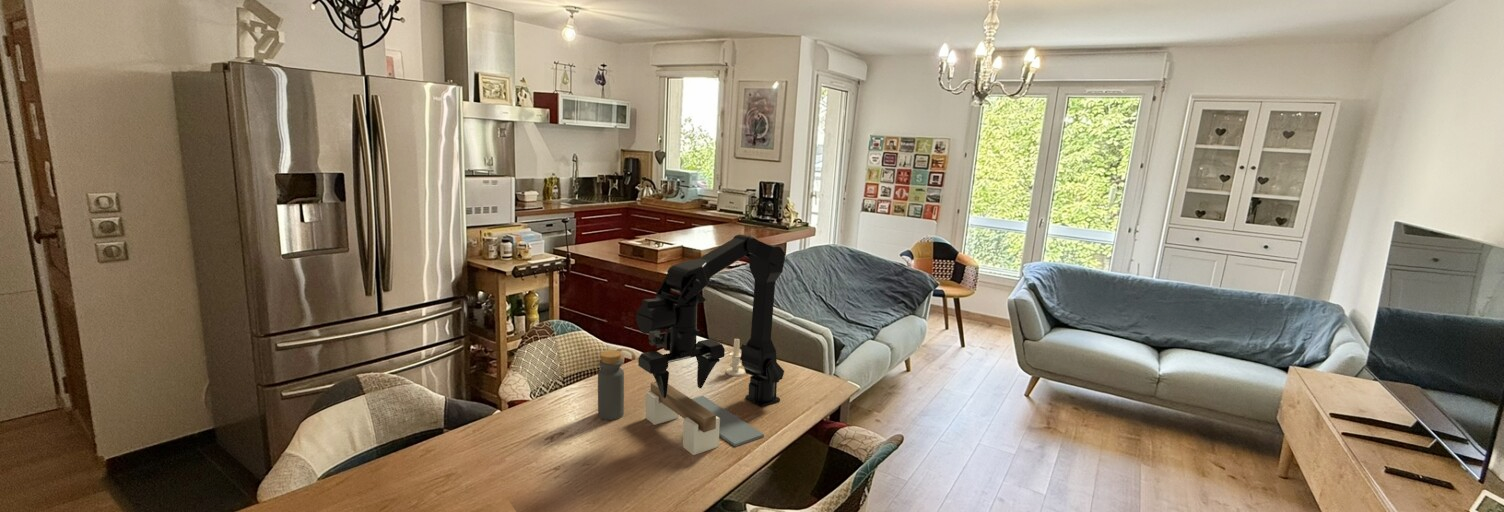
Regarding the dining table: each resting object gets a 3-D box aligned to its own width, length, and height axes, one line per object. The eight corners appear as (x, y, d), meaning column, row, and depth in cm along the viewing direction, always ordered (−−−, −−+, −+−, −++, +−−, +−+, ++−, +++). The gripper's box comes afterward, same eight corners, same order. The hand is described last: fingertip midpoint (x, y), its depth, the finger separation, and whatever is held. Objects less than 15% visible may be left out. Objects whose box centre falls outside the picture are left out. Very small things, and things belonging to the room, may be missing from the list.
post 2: (708, 438, 131) (708, 411, 130) (718, 446, 128) (719, 418, 127) (682, 447, 127) (683, 418, 126) (693, 455, 124) (694, 426, 123)
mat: (702, 397, 152) (703, 395, 152) (763, 436, 133) (764, 434, 133) (675, 405, 147) (675, 403, 147) (735, 446, 129) (735, 444, 128)
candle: (724, 369, 171) (725, 334, 169) (742, 368, 172) (744, 333, 170) (728, 376, 166) (729, 340, 164) (746, 375, 167) (748, 339, 165)
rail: (661, 391, 142) (661, 379, 142) (715, 428, 126) (716, 415, 125) (650, 394, 140) (650, 382, 140) (703, 432, 124) (704, 418, 123)
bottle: (617, 421, 137) (617, 359, 134) (593, 418, 138) (593, 356, 135) (627, 411, 143) (628, 350, 140) (604, 407, 144) (604, 347, 141)
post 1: (669, 411, 144) (670, 385, 142) (678, 417, 141) (679, 391, 139) (645, 418, 140) (646, 391, 138) (654, 424, 137) (654, 398, 135)
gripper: (698, 308, 141) (697, 371, 144) (626, 321, 130) (626, 389, 133) (727, 321, 133) (724, 387, 136) (651, 335, 121) (651, 408, 124)
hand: (682, 392), depth 132 cm, fingers open, 9 cm apart
